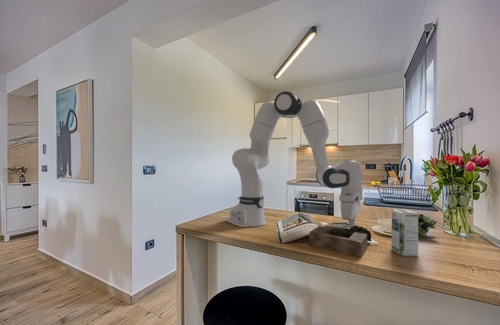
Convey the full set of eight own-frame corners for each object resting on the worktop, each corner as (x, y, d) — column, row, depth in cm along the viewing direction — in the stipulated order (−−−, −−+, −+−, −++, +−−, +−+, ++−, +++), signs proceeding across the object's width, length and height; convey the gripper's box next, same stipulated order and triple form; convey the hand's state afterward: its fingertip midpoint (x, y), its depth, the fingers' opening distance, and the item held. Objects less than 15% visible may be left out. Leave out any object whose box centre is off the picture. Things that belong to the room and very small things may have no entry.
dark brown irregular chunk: (323, 237, 92) (323, 224, 92) (327, 233, 97) (327, 220, 97) (371, 245, 82) (370, 230, 82) (372, 240, 88) (372, 226, 88)
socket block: (309, 245, 83) (309, 232, 83) (319, 237, 91) (319, 225, 91) (361, 257, 72) (361, 242, 72) (367, 247, 79) (367, 234, 79)
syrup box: (390, 249, 78) (390, 209, 78) (407, 249, 78) (407, 208, 78) (401, 256, 72) (400, 212, 72) (419, 256, 72) (419, 212, 72)
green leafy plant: (418, 245, 95) (434, 223, 95) (430, 250, 84) (449, 225, 84) (392, 228, 98) (408, 207, 98) (402, 231, 88) (419, 207, 88)
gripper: (350, 192, 109) (350, 219, 109) (338, 197, 93) (338, 230, 93) (363, 193, 105) (364, 221, 105) (354, 199, 89) (354, 232, 89)
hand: (351, 225), depth 99 cm, fingers closed
